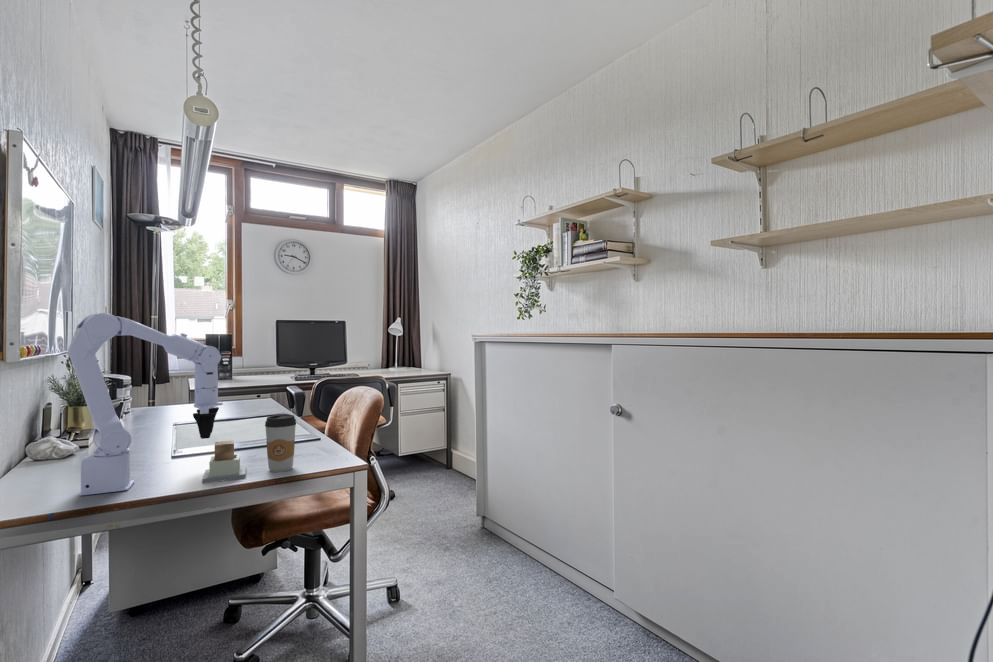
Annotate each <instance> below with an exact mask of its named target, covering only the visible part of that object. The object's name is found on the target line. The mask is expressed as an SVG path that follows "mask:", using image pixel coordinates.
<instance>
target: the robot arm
mask: <svg viewBox="0 0 993 662" xmlns="http://www.w3.org/2000/svg"><path fill="white" fill-rule="evenodd" d="M115 336H132V337H135V338H138V339H141V340H143V341H146V342H150V343H152V344H155V345H159V346H162V347H163V348H164V351H165V352H166V354H169V355H173V356H175V357H178V358H180V359H184V360H186V361H188V362H192V363H194V403H193V408H196V412H195V413H194V412H193V413H192V418H193V419H194V420H195V422H196V425H197V427H198V432H199V433H198V434H199V438H200V439H201V440H202V439H210V438H211V434H212V433H213V430H214V424H215V420H216V416H217V414H218V411H219V409H220V407H219V406H223V402H222V401H219V371H218V370H219V369H218V367H219V366H218V365H219V363H220V362H221V360H222V355H221V353H220V350H218V348H217V347H215V346H212V345H206V344H205V342H204V341H202V340H200V341H197V340H195V339H192V338H190V337H188V334H186V333H183V332H182V333H180V334H179V333H173V334H170V335H168V334H166V333H163V332H161V331H159V330H157V329H154V328H152V327H150V326H147V325H145V324H142V323H140V322H137V321H136V320H132V319H130V318H126V317H123V316H122V317H121V316H115V315H114V314H111V313H107V312H99V313H93V314H89V315H87V316H85V318H83V319H82V320H81V321H80V322H79V323H78V324H77V325H76V329H75V332H74V334H73V337H72V339H71V340H70V344H69V346H68V349H67V355H68V357H69V358H70V359H69V360H70V362H71V365H72V367H73V370H74V373H75V376H76V379H77V382H78V385H79V386H80V387H79V388H80V390H81V393H82V395H83V397H84V400H85V403H86V407H87V409H88V412H89V414H90V418H91V420H92V421H91V423H92V427H93V435H92V441H93V444H94V446H96V449H95V451H93V454H91V455H84V457H83V458H82V460H81V464H80V465H81V466H80V493H79V496H89V495H90V496H91V495H97V494H104V493H106V494H107V493H113V492H122V491H123V492H124V491H129V489H130V488H131V487H132V486H133V484H134V483H135V480H134V479H131V452H130V451H131V449H130V446H131V443H132V436H131V433H130V432H129V431H128V430H126V429H125V428H124V427H123V425H122V421H121V420H120V419H119V417H118V415H117V413H116V409H115V407H114V405H113V401H112V399H111V396H110V393H109V390H108V387H107V384H106V381H105V378H104V376H103V372H102V370H101V367H100V365H99V362H98V359H97V356H96V354H97V352H98V351H99V350H100V349H101V347H103V345H104V344H105V343H106V342H108V341H109V340H111V339H112V338H114V337H115Z"/></svg>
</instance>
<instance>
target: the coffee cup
mask: <svg viewBox="0 0 993 662" xmlns="http://www.w3.org/2000/svg"><path fill="white" fill-rule="evenodd" d="M264 422H265V424H264V426H265V436H266V437H265V438H266V454H267V455H266V456H267V464H268V469H269V471H270V472H272V473H281V472H287V471H291V470H292V468H293V467H294V456H295V447H296V446H295V444H296V438H295V437H296V425H297V420H296V418H295V415H293V414H275V415H269V416H267V417H266V420H265V421H264Z"/></svg>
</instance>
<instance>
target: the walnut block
mask: <svg viewBox="0 0 993 662" xmlns="http://www.w3.org/2000/svg"><path fill="white" fill-rule="evenodd" d="M234 454H235V440H234V439H231V440H225V441H224V440H222V441H215V442H214V456H215V461H223V460H233V459H234Z"/></svg>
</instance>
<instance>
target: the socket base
mask: <svg viewBox="0 0 993 662" xmlns="http://www.w3.org/2000/svg"><path fill="white" fill-rule="evenodd" d="M208 468H209V469H205V471H204V473H203V476H202V480H201V481H202V484H206V483H205V482H207V483H215V482H222V480H224V481H231V479H232V480H239V478H240V479H246V475H247V473H246V472H247V465H241V453H234V459H233V460H223V461H215V455H214V456H211V457H210V460H209V467H208ZM214 481H215V482H214Z"/></svg>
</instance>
